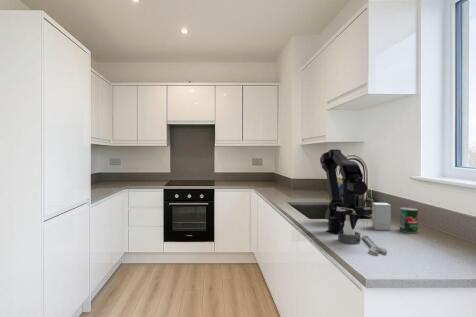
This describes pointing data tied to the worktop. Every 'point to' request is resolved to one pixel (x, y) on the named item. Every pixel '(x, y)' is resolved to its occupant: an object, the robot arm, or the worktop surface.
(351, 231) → the salt shaker
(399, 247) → the worktop surface
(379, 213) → the supplement box
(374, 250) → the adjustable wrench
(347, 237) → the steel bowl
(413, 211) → the canned tomato
